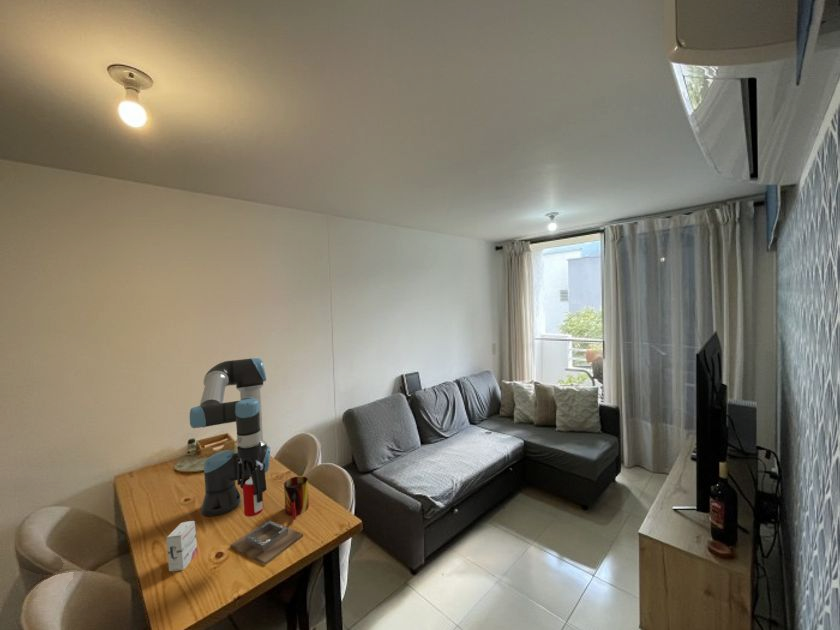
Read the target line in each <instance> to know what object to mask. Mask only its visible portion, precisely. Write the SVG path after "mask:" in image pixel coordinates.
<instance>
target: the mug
mask: <svg viewBox="0 0 840 630" xmlns="http://www.w3.org/2000/svg"><path fill="white" fill-rule="evenodd" d="M283 489H284V509H285V510H284V511H285V514H286V515H287V516H290V517H292V521H295V520H296V519H297V516H299V515H302V514H304V513H306V512H307V511H308V510H309V508H310V501H309V499H310V498H309V483H308V477H306V476H303V475H301V476H300V475H299V476H293V477H291V478H288V479H287V480H286V481H285V482H284V483H283Z"/></svg>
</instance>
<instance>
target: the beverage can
mask: <svg viewBox="0 0 840 630" xmlns="http://www.w3.org/2000/svg"><path fill="white" fill-rule="evenodd" d="M254 493H255V490H254V486H253V482H252V478H251V477H250V479H248V480H247V481H246V482H245V483H244V485H243V498H242V501H243V500H244V507H243V511H244V512H243V513H244V516H246V517H247V518H255V517H256V516H259V515H260V514H261V513H262V512H263V510H264V508H263V509H261V510H260V511H258V512H256V513H255V512H254V495H253V494H254ZM263 493H264V492H262V496H263V495H264V494H263ZM263 497H264V496H263ZM262 501H263V502H264V499H263V500H262Z"/></svg>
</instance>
